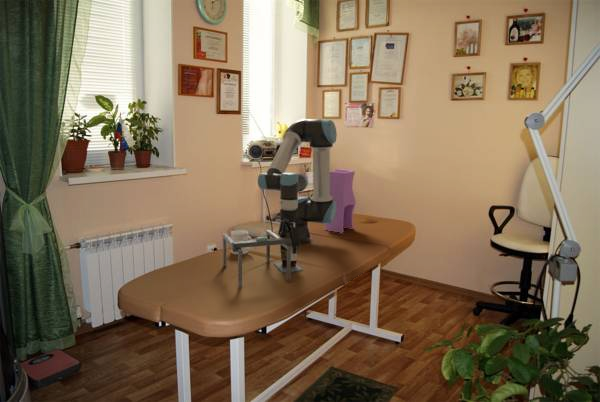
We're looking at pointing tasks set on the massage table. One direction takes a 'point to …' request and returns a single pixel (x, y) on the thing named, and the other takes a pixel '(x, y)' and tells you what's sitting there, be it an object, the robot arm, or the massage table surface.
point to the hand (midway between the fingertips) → (288, 256)
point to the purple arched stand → (342, 199)
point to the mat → (282, 269)
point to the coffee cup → (284, 256)
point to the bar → (260, 242)
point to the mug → (241, 239)
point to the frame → (273, 235)
